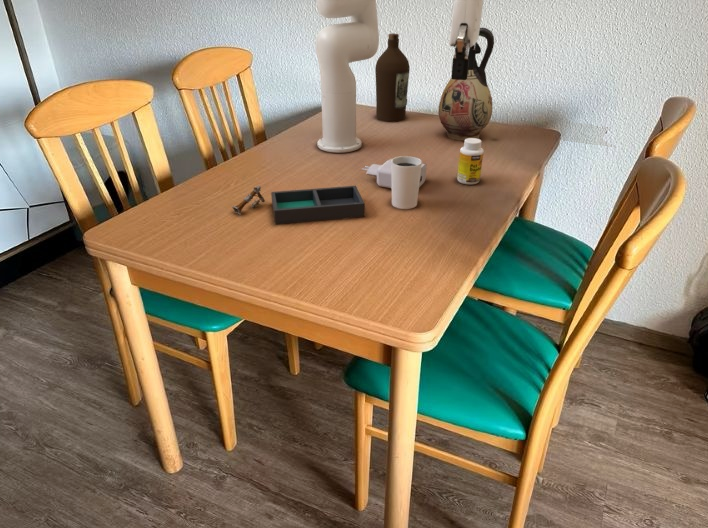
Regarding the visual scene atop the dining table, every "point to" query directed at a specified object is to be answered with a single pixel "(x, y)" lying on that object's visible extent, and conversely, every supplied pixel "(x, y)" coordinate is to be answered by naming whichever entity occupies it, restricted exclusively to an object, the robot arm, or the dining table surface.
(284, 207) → the grey divided tray
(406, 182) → the coffee cup
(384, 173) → the charger
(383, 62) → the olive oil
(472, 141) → the supplement bottle
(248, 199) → the wooden post with brackets
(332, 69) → the robot arm
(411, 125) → the dining table surface
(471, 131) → the ceramic jug
